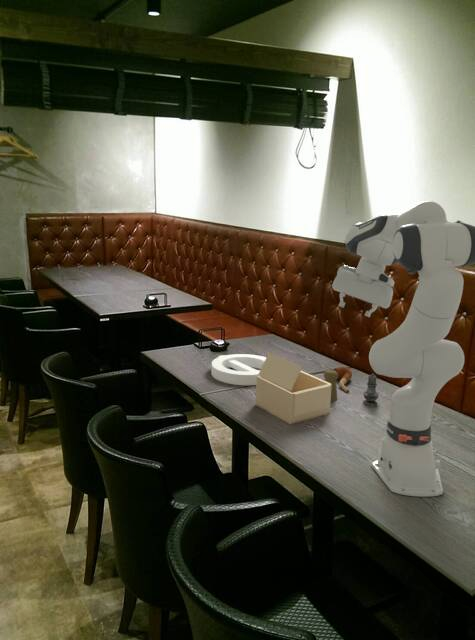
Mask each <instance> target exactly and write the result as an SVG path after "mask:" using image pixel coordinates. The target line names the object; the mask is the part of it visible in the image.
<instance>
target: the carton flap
mask: <svg viewBox="0 0 475 640" xmlns="http://www.w3.org/2000/svg"><path fill="white" fill-rule="evenodd" d="M265 357H266V359H265V362H264V364H263V366H262V368H261V369H259V370H260V372H259V374H258V375H259V376H261V377H263V378H265V379H267V380H269V381H271V382H273V383H276V384H278V385H280V386H282V387H284V388H286V389H288V390H290V391H291V390H292V388H293V386H294V384H295V382H296V379H297V377H298V375H299V373H300V371H302V369H303V366H301V365H299V364H298V363H294V362H292V361H290V360H288V359H286V358H283V357H281V356H278V355H276V354H273V353H271V352H268V353H267V356H265Z"/></svg>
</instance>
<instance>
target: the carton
mask: <svg viewBox="0 0 475 640" xmlns="http://www.w3.org/2000/svg"><path fill="white" fill-rule="evenodd" d="M255 387H256V388H255V390H256V391H255V406H257V407H259V408H261V409H262V410H264V411H266V412H268V413H269V414H271V415H273V416H274V417H277V419H279V420H281V421H283V422H285V423H287V424H289V425H293V424H297V423H301V422H305V421H307V420H312V419H314V418H319V417H323V416H325V415H329V414H330V409H331V402H332V401H331V387H332V384H331V383H328V382H326V381H325V379H324V380H323V379H321V378H319V377H316V376H314V375H313V374H310V373H307V372H305V371H303V370H301V371H300V373H299V375H298V377H297V379H296V382H295V384H294V386H293V388H292V390H291V391H290V390H288V389H286V388H284V387H282V386H280V385H278V384H276V383H273V382H271V381H269V380H267V379H265V378H263V377H261V376H257V382H256V385H255Z"/></svg>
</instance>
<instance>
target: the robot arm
mask: <svg viewBox="0 0 475 640" xmlns="http://www.w3.org/2000/svg"><path fill="white" fill-rule="evenodd" d="M344 244H345V248H346V249H347V252H348V253H350V254H353V255H358V256H361V258H360V260H359V262H358V265H357V267H356V268H355V267H351V266H348V265H345V264H344V265H341V266H340V267H338V270H337V272H336V273H337V274H336V276H335V278H334V280H333V282H332V284H331V287H332V290H333V291H336V292H338V293H339V304H338V307H340V308H343V309H344V308H345V305H346V302H344V298H345V297H346V296H347V295H348V296H350V297H352V298H356V299H358V300H361V301H364V302H366V303H369V304H372V305H371V307H372V308H370V309H369V310H366V311H365V313H364V316H366V317H367V318H371V316H372V315H371V314H372V313H374V312H375V311H376V310H377V308H378V307H380V308H382V309H388V308H389V307H390V306H391V303H392V300H393V296H394V289H393V287H394V285H395V281H394V279H393V278H392V277H390V276H389V275H388V274H386V273H385V271H386V266H389V267H390V266H394V265H396V264H398V265H400V266H401V267H402V268H404V269H405V270H406V272H407V274H410V275H415V274H416V273H418V284H417V287H416V289H415V292H414V295H413V297H412V298H413V299H412V301H411V304H410V307H409V309H408V312H407V314H406V317H405V319H404V321H403V322H402V323H401V324H400V326H399V327H397V328H396V329H395V330H393V331H392V332H391V333H390V334H388V335H386V336H385V337H382V338H381V339H380V338H379V339H377V340H376V341H375V342H374V343H373V344H372V346H370V351H369V354H368V360H369V364H370V367H371V369H372V371H374V373H376V374H377V375H379V376H385V377H390V378H394V379H395V378H397V379H398V378H403V379H405V378H406V379H411V380H410V381H409V382H408V383H407V384H406V385H403V386H401V387H399V388H397V389H396V390H395V391H394V393H393V394H392V395H391V400H390V410H389V411H390V412H389V418H388V419H387V422H386V434H385V435H384V437H382V438H381V439H380V441H379V448H378V453H377V454H378V455H377V460H375V461H372V463H371V467H372V469H373V470H374V471H375V472H376V474H377V475H378V476H379V477H380V479H381V480H382V481H383V483H384V484H385V485H386V487H387V488H388V489H389V490H390V491H391V492H392V493H395V494H399V495H404V496H408V497H409V496H411V497H422V498H423V497H426V498H427V497H437V496H440V495H443V494H444V487H443V483H442V481H441V475H440V472H439V470H440V469H441V465H442V464H441V460H439V459H435V456H437V450H435V449H434V448H433V441H432V425H431V419H432V412H433V407H434V402H435V400H436V397H437V395H438V393H439V392H440V391H441V389H442V388H443V387H444V386H445V384H447V382H449V381H450V380H451V379H453V378H455V377H456V376H458V375H459V374H460V373H461V371H462V370H463V368H464V365H465V353H464V350H463V349H462V347H461V345H460V344H459V343H457V342H456V341H452V340H449V339H445V338H446V337H447V336H448V334H449V333H450V331H451V328H452V325H453V323H454V321H455V318H456V316H457V312H458V309H459V307H460V303H461V299H462V296H463V292H464V291H463V290H464V281H465V280H464V277H463V274H462V272H461V271H460V270H459V269H457V268H456V267H461V268H463V267H468V266H472V265H475V226H474V225H471V224H469V223H466V222H464V221H461V220H457V221H454V222H451V221H449V220H447V214H446V212H445V209H444V208H443V207H442V206H441V205H440V204H439V203H438V202H435V201H433V200H426V201H425V200H424V201H421V202H420V201H419V202H418V203H415V204H413V205H411V206H409V207H407V208H406V209H405V210H403V211H400V212H395V213H389V214H380V215H377V216H375V217H373V218H370V219H368V220H366V221H364V222H361V221H360V222H357V223H354V224H353V225H351V226H350V228H349V230H348V231H347V233H346V235H345V239H344Z"/></svg>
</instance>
